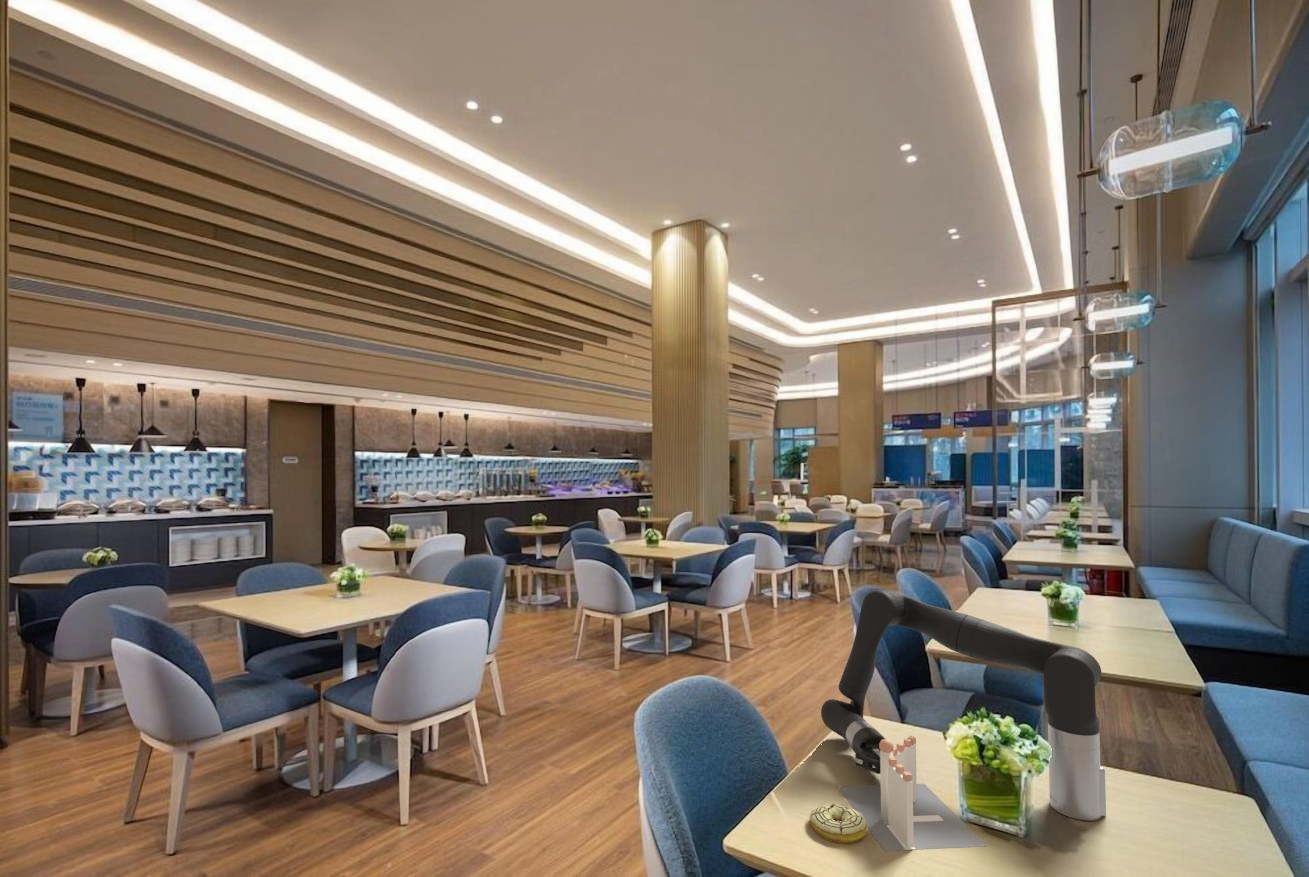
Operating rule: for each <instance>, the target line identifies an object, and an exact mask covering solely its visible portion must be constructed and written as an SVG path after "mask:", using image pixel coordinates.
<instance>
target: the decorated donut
mask: <svg viewBox="0 0 1309 877" xmlns="http://www.w3.org/2000/svg"><path fill="white" fill-rule="evenodd" d="M809 821H810V825H811V827H812V828H813V830H814V831H815V832H816V834H817V835H819V836H820V837H821V838H823V839H825V840H827V841H829V842H830V841H831V842H834V843H838V844H853V843H856V842H858V841H860V840H862V839H863V838H864V837H865V835H866V833H867V828H868V827H867V826H866V820H865V818H864V817H863V816H862V814H861V813H860V812H858V811H856V810H854V808H853V807H852V808H851V807H849V806H845V805H841V804H835V803H832V804H823V805H819V806H817V807H814V808H813V809H812V810H811V812H810V814H809Z"/></svg>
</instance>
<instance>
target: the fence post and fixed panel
mask: <svg viewBox="0 0 1309 877" xmlns="http://www.w3.org/2000/svg"><path fill="white" fill-rule="evenodd" d="M879 748H880V774H879V775H880V785H881V821H882V822H885V823H887V824H889V825H890V826H891V827H892V829H893V830H894V831H895V833H896V834H897V835H898V836H899V838H900V839H901V840H902V841H903V843H904V844H905V845H906V846H907V848H911V847H914V833H913V782H912V775H911V774H910V773H909V772H904V767H903V766H902V765H901V764H897V760H896V759H895V758H894V757H893V749H894V743H893V742H892V741H891V740H890V739H888V738H885V739H883V740H881V741H880V743H879Z"/></svg>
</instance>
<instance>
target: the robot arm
mask: <svg viewBox="0 0 1309 877" xmlns="http://www.w3.org/2000/svg"><path fill="white" fill-rule="evenodd" d="M890 626H896V627H897V626H898V627H902V628H907V629H909V630H913V631H916V632H918V633H922V634H924V635H926V636H928V637H929V638H931V639H933V640H934V641H935V642H937V643H938V644H940V645H942V646H944V648H945V647H946V648H947V649H949V650H951V651H954V652H955V653H959V654H960V655H963V656H966V657H969V658H973V659H976V660H978V661H983V662H986V663H991V664H998V665H999V664H1000V665H1008V666H1016V667H1020V668H1024V669H1027V670H1031V671H1034V672H1036V673H1038V674H1041V675H1043V694H1044V708H1045V711H1046V714H1047V715H1046V716H1047V733H1048V734H1047V736H1048V737H1047V738H1048V744H1049V745H1050V746H1051V748H1052V757H1051V758H1050V761H1049V760H1048V782H1049V783H1048V784H1049V785H1048V787H1049V788H1048V791H1049V794H1048V795H1049V805H1050V807H1051V808H1052V809H1053V810H1054V811H1056V812H1057V813H1060V814H1062V815H1064V816H1065V817H1068V818H1072V819H1076V820H1080V821H1081V820H1082V821H1089V822H1090V821H1097V820H1099V819H1101V818H1102V817H1106V816H1107V797H1106V796H1107V795H1106V770H1105V768H1104V767H1102V766H1101V747H1100V746H1101V745H1100V743H1101V742H1100V738H1101V737H1100V719H1099V717H1098V716H1097V709H1096V708H1097V707H1096V706H1097V704H1096V687H1097V685H1098V684H1099V682H1100V680H1101V677H1102V668H1101V666H1100V663H1099V662H1098V660H1097V659H1096V658H1095V657H1094V656H1093V655H1092V654H1091V653H1089V652H1088V651H1087V650H1085V649H1082V648H1080V647H1076V646H1073V645H1067V644H1062V643H1058V642H1054V641H1049V640H1045V639H1041V638H1037V637H1034V636H1031V635H1026V634H1024V633H1021V632H1018V631H1016V630H1013V629H1011V628H1008V627H1005V626H1002V625H999V624H997V623H993V622H990V621H987V620H985V619H982V618H979V617H975V616H972V615H969V614H965V613H962V612H958V611H956V610H951V609H948V608H944V607H939V606H934V605H931V604H927V603H925V602H922V601H920V600H918V599H915V598H913V597H911V596H908V595H906V594H904V593H902V592H900V591H897V590H895V589H894V590H893V589H891V588H883V589H876V590H872V591H870V592H868V593H867V594H866V595H865V596H864V598H863V601H862V603H861V607H860V612H859V618H858V623H857V627H856V632H855V636H854V640H853V644H852V648H851V651H850V654H849V657H848V659H847V662H846V664H845V667H844V670H843V672H842V675H841V677H840V680H839V683H838V690H839V692H840V693H841V695H843V696H844V697H845V698H847V699H848V700H850V702H846V701H842V700H839V699H835V698H831V699H827V700H826V701H824V703H823V704H822V706H821V709H820V717H821V719H822V722H823V724H824V725H825V727H826V728H828V729H829V730H830V731H832V732H834V733H835V734H837V735H838V736H840V737H842V738H843V739H844V740H845V741H846V742H847V744H848V746H849V747H850V749H851V750H852V752H853V753H855V755H854V756H855V758H854V759H855V766H856V767H858V768H860V769H863V770H867V771H869V772H872V773H875V774H877V775H881V774H880V748H879V743H880V741H881V740H883V739H886V738H885V736H884V735H883V734H881V733H880V732H879V731H878V730H877V729H876V727H874V726H873V725H872V724H870V723H869V722H867V720H866V719H865V718H864V711H865V709H864V708H865V702H866V701H865V700H866V695H867V693H868V690H869V688H870V685H871V682H872V679H873V676H874V673H875V668H876V658H877V652H878V647H879V645H880V641H881V639H882V637H883V635H884V634H885V632H886V630H887V629H888V627H890ZM1049 745H1048V746H1049Z"/></svg>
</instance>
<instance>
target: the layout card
mask: <svg viewBox="0 0 1309 877" xmlns="http://www.w3.org/2000/svg"><path fill="white" fill-rule="evenodd" d="M838 789H839V790H840V792H841V793H842V795H843V796H844V797H845V798H846V800H847V801H848V803H849V804H850V805H851V807H852V809H854V810H856V811H858V812H860V813H861V814H862V816H863V817H864V818H865V820H866V826H867V827H866V828H867V829H868V830H869V831H870V832H871V834H872V835H873V837H874V839H876V840H875V841H877V843H879V845H880V846H881V848H882V849H883V851H884V852H894V851H898V852H900V851H915V850H916V851H917V850H936V849H939V850H941V849H955V848H977V847H980V848H981V847H987V844H986V843H985V842H983V841H982V840H981V838H979V837H978V835H977V834H976V833H974V831H973V830H971V829H970V828H969V826H968V825H966V824H965V822H963V821H962V819H960V818H959V817H958V816H957V815H956V814H955V813H954V812H953V810H951V808H949V807H948V806H947V805H946V804H945V803H944V801H942V800H941V799H940V798H939V796H937V795H936V794H935V793H934V792H933V791H932V789H930V788H929V787H928V785H926V784H925V783H916V789H917V800H916V801H915V802H913V833H914V847H911V848H907V846H906V845H905V844H904V843H903V841H902V840H901V839H900V838H899V836H898V835H897V834H896V833H895V831H894V830H893V829H892V827H891V826H890V825H889V824H887V823H885V822H882V821H881V784H880V785H879V784H878V785H862V786H861V785H860V786H859V785H858V786H855V785H854V786H838Z"/></svg>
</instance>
